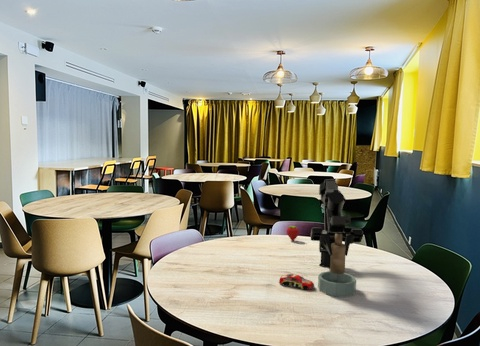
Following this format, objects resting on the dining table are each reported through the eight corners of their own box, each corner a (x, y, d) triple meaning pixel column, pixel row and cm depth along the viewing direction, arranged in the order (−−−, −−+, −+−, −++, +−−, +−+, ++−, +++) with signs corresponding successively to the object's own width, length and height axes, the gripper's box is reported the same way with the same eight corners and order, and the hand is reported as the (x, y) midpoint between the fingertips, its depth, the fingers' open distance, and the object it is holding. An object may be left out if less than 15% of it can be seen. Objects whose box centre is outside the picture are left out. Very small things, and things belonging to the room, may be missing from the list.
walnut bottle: (327, 271, 132) (328, 233, 131) (335, 268, 136) (337, 231, 135) (339, 275, 128) (340, 236, 127) (347, 272, 132) (349, 234, 131)
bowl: (313, 291, 130) (313, 279, 130) (325, 280, 141) (325, 269, 141) (349, 299, 124) (350, 287, 123) (358, 287, 135) (359, 275, 134)
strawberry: (294, 243, 196) (295, 225, 195) (283, 240, 201) (284, 222, 200) (301, 241, 200) (301, 223, 199) (290, 238, 205) (290, 221, 205)
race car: (315, 287, 135) (316, 277, 135) (311, 292, 130) (312, 281, 130) (282, 280, 141) (283, 270, 141) (277, 285, 136) (278, 275, 136)
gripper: (312, 206, 135) (314, 242, 125) (363, 207, 133) (370, 245, 123) (309, 222, 143) (311, 258, 133) (357, 223, 142) (363, 260, 132)
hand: (338, 255), depth 130 cm, fingers closed on walnut bottle, 5 cm apart
